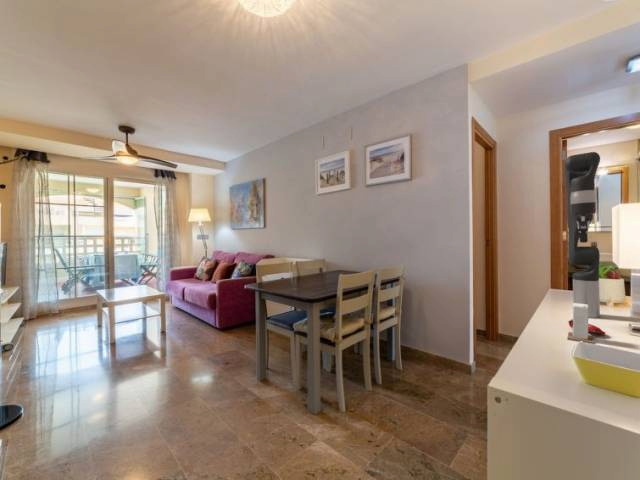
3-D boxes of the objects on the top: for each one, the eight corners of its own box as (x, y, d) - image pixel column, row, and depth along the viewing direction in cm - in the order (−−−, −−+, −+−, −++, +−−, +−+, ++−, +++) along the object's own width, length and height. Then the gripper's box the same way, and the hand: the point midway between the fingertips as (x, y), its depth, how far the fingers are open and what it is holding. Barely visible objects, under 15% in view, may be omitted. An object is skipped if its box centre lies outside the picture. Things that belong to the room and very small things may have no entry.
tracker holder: (609, 331, 110) (603, 328, 105) (604, 341, 110) (599, 339, 105) (570, 317, 120) (563, 314, 115) (566, 327, 120) (559, 324, 115)
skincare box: (573, 333, 110) (572, 302, 110) (589, 335, 107) (588, 304, 107) (572, 337, 106) (571, 305, 106) (589, 340, 102) (588, 307, 102)
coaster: (568, 333, 112) (568, 331, 112) (593, 337, 107) (593, 335, 107) (567, 339, 105) (567, 337, 105) (593, 344, 101) (593, 342, 101)
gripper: (596, 200, 107) (597, 242, 107) (595, 202, 117) (596, 241, 117) (569, 202, 112) (570, 242, 112) (571, 204, 123) (572, 241, 123)
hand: (583, 242), depth 115 cm, fingers open, 8 cm apart
